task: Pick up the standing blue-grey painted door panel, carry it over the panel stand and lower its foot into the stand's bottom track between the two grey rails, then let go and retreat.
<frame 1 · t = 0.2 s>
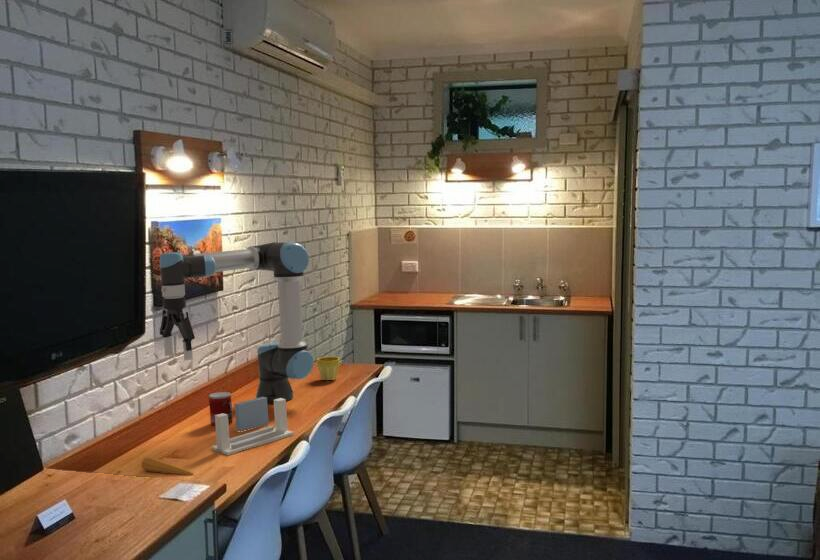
hand: (178, 357, 252), 28 cm above the counter, tool pointing down, fingers open, 13 cm apart
plant pot: (329, 380, 328), on the counter
panel stand: (253, 441, 243), on the counter
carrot: (170, 474, 217), on the counter
door panel: (252, 428, 259), on the counter
canned food: (221, 424, 266), on the counter
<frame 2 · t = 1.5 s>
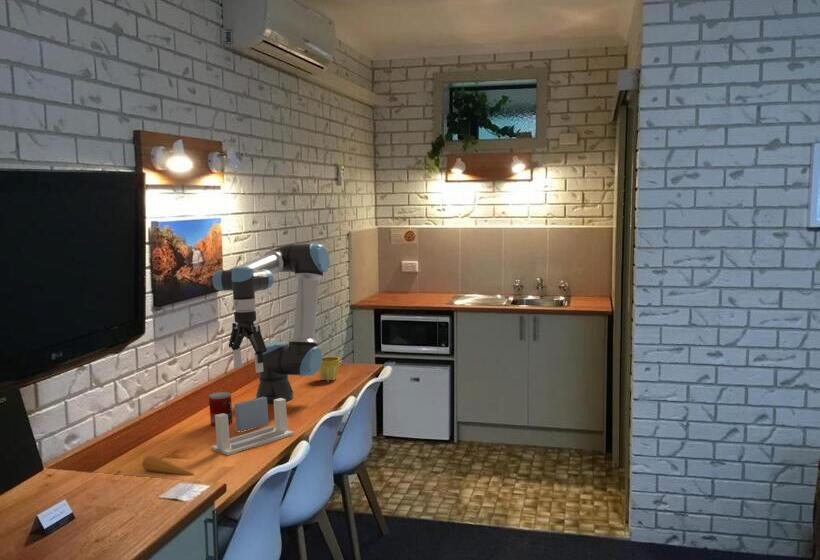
hand: (248, 369, 257), 21 cm above the counter, tool pointing down, fingers open, 13 cm apart
nothing on the counter moved.
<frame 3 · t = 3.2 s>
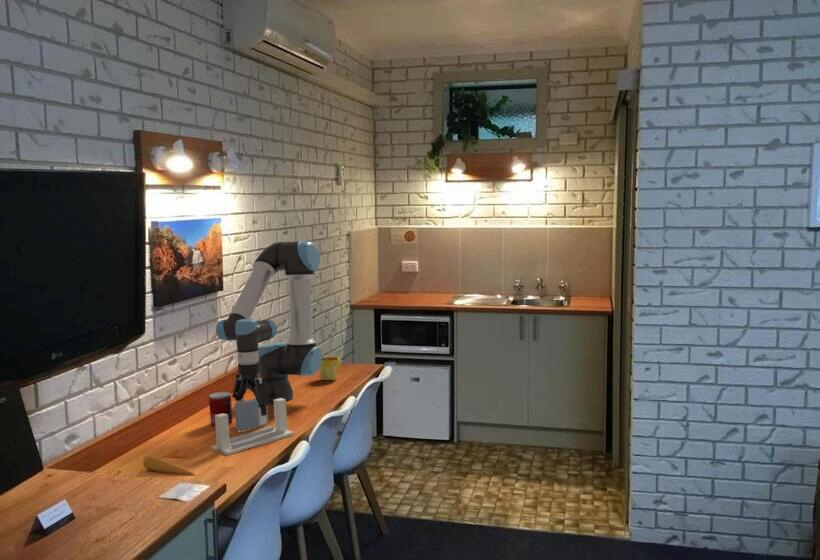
hand: (252, 421, 259), 3 cm above the counter, tool pointing down, fingers open, 13 cm apart
nothing on the counter moved.
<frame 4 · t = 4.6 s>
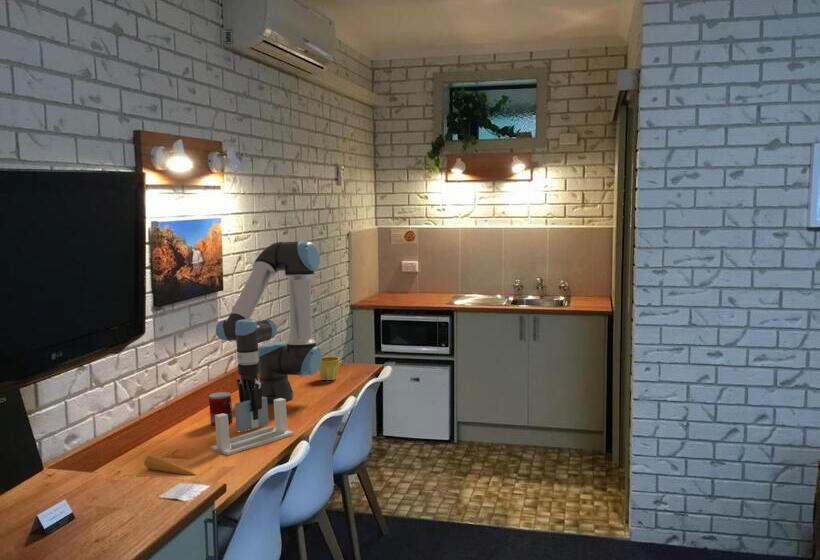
hand: (252, 427, 259), 0 cm above the counter, tool pointing down, fingers closed on door panel, 2 cm apart
door panel: (252, 427, 259), on the counter, touching gripper
everything else where it was.
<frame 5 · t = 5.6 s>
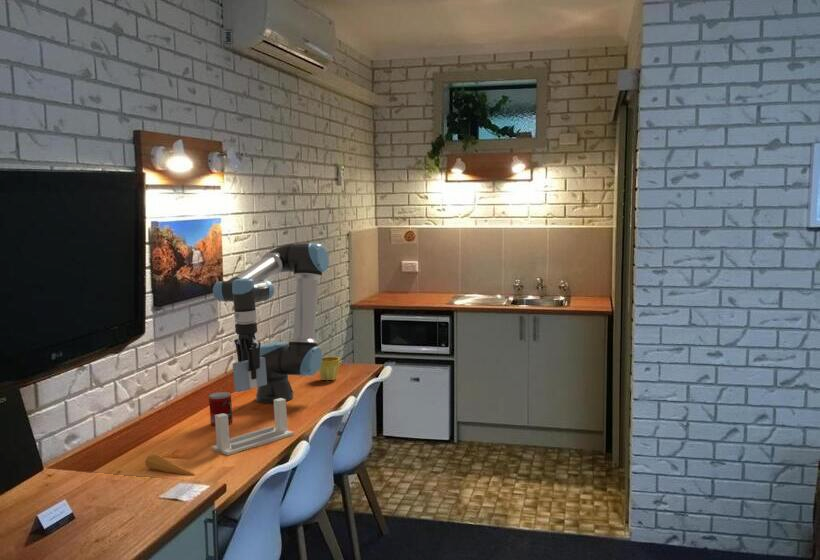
hand: (250, 387, 258), 15 cm above the counter, tool pointing down, fingers closed on door panel, 2 cm apart
door panel: (251, 387, 258), point 15 cm above the counter, touching gripper
everything else where it was.
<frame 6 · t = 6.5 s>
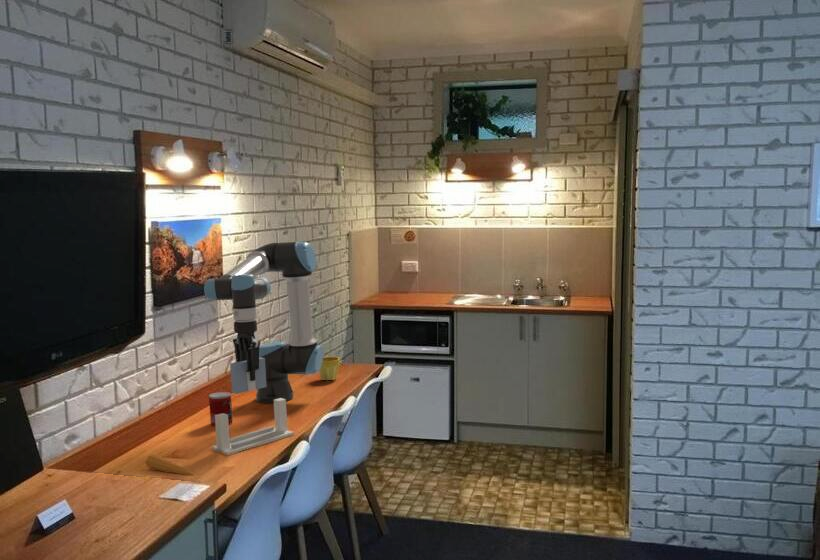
hand: (249, 389, 244), 18 cm above the counter, tool pointing down, fingers closed on door panel, 2 cm apart
door panel: (249, 389, 244), point 17 cm above the counter, touching gripper
everything else where it was.
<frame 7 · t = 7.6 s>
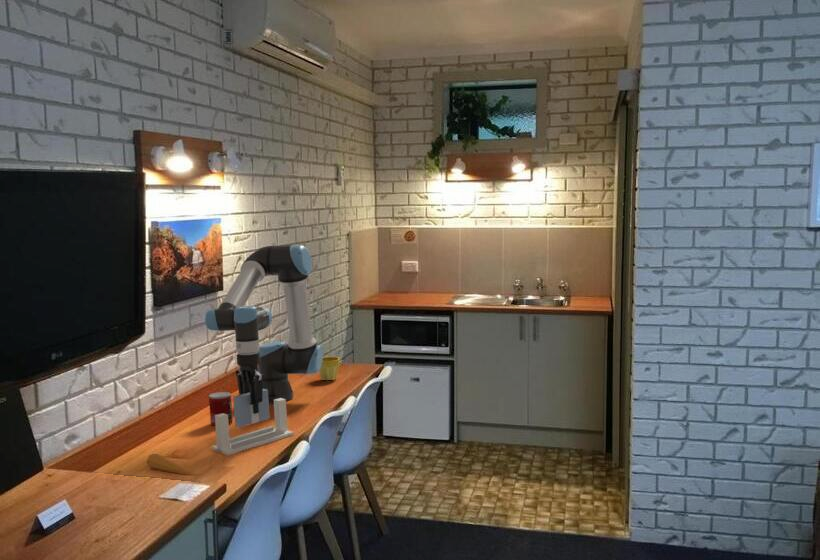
hand: (252, 421, 242), 7 cm above the counter, tool pointing down, fingers closed on door panel, 2 cm apart
door panel: (252, 422, 242), point 7 cm above the counter, touching gripper
when the fingers open (3 cm above the counter, at t = 8.5 s): door panel drops 2 cm, resting on panel stand.
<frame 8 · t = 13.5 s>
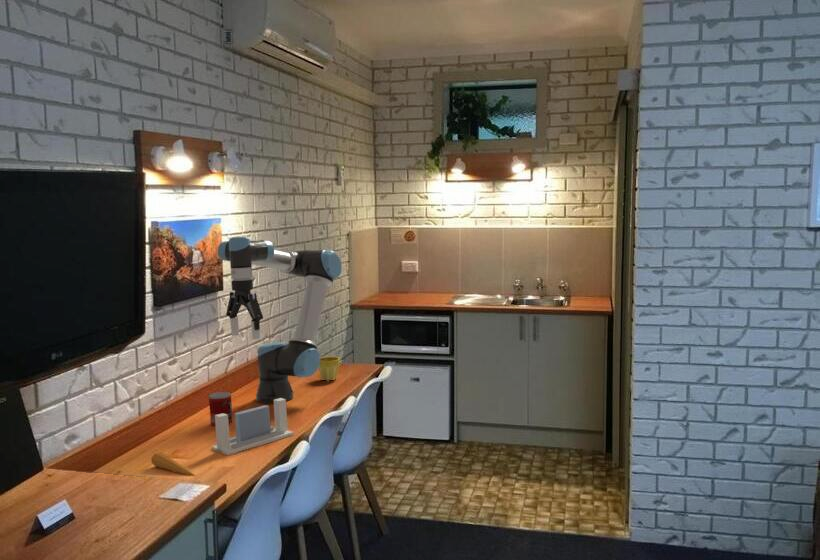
hand: (245, 337, 264), 32 cm above the counter, tool pointing down, fingers open, 13 cm apart
door panel: (254, 438, 243), point 1 cm above the counter, touching panel stand
at the end: door panel inside the target area on the panel stand (0.2 cm from its centre), point 1.0 cm above the panel stand's base; door panel tilted 0°; the gripper is holding nothing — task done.
